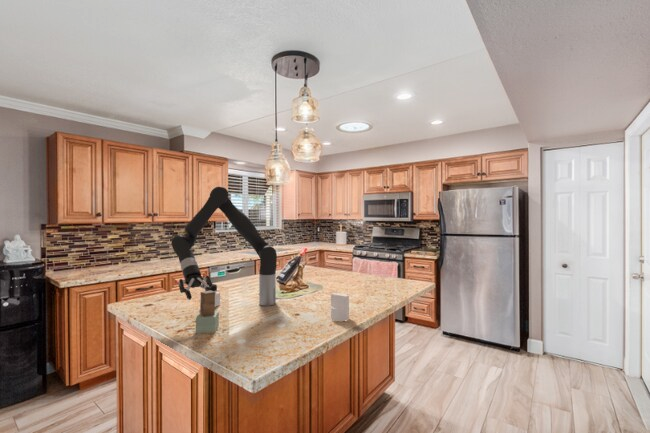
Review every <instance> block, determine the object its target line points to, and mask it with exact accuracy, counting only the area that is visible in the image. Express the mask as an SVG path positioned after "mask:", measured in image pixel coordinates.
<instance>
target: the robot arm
mask: <svg viewBox="0 0 650 433" xmlns="http://www.w3.org/2000/svg"><path fill="white" fill-rule="evenodd" d="M217 209H219V210H220V211H221V212H222V213H223V214H224V216H225V217H226V218H227V220H228V221H229V223H230V224H231V225H232V226H233V227H234V229H235V230H236V231H237V233H238V234H240V236H241V237H242V238H243V240H245V241H246V242H247V243H248V244H249V245H251V247H252V248H253V249H254V251H255V252H256V254H257V256H258V257H259V259H260V260H259V265H260V266H259V272H258V274H259V275H258V278H259V279H258V280H259V283H258V285H259V286H258V287H259V290H258V291H259V292H258V293H259V294H258V295H259V296H258V297H259V298H258V300H259V301H258V304H259V306H262V307H267V306H269V307H271V306H274V305H275V306H276V303H277V302H276V300H277V296H276V294H277V292H276V291H277V290H276V288H277V287H276V286H277V284H276V276H277V275H276V274H277V272H276V271H277V251H276V249H275V248H274V247H273V246H271V245H270V244H268V242H266V240H264V238H263V237H262V236H261V235H260V233H259V231H258V229H257V227H256V226H255V225H254V223H253V222H252V220H251V219H250V218H249V217H248V216H247V215H246V214H245V213H244V212H243V211H242V210H240V209H239V208H238V207H237V206H235V205H234V204H233V201H232V200H231V199H230V197H229V191H228V189H227V188H226V187H224V186H216V187H214V188H212V190H211V191H210V192H209V197H208V199H207V200H206V202H205V203H204V205H203V206H202V208H201V209H200V210H199V211H198V212H197V213H196V214H195V215H194V216H193V217H192V219H191V220H190V221H189V222H188V224H187V225H186V226H185V228H184V231H185V233H186V235H185V236H184V235H181V234H176V235H175V236H172V237H173V238H171V247H172V249H173V251H174V253H175V254H176V256H177V258H178V261H179V264H180V269H181V270H180V271H181V272H182V274H183V275H182V276H183V278H184V279H182V278H180V279H179V281H178V283H177V284H178V288H179V292H180V294H183V293H184V294H185V296H186V298H187V300H192V294H191V291H190V289H191V288H192V289H195V288H201V289H204V291H210V288H211V287H212V284H213V283H212V281H211V280H212V279H211V278H210V275H206V276H205V277H203V276H202V273H201V270H200V267H199V264H198V261H197V260H196V258H195V255H194V253H193V251H192V250H191V249H192V248H193V246H194V244H195V242H196V240H197V237H198V235H199V233H200V232H201V231H202V230H203V228H204V227H205V226H206V225H207V223H208V222H209V220H210V219H211V218H212V216H213V215H214V213H215V212H216V211H217ZM185 285H187V287H186V288H185Z"/></svg>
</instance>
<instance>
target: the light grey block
mask: <svg viewBox="0 0 650 433" xmlns="http://www.w3.org/2000/svg"><path fill="white" fill-rule="evenodd" d="M331 319H332V320H334V321H333V322H335V321H345V320H348V319H349V320H350V295H349V294H345V293H338V292H332V293H331V294H330V320H331ZM332 320H331V321H332ZM349 320H348V321H349Z"/></svg>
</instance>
